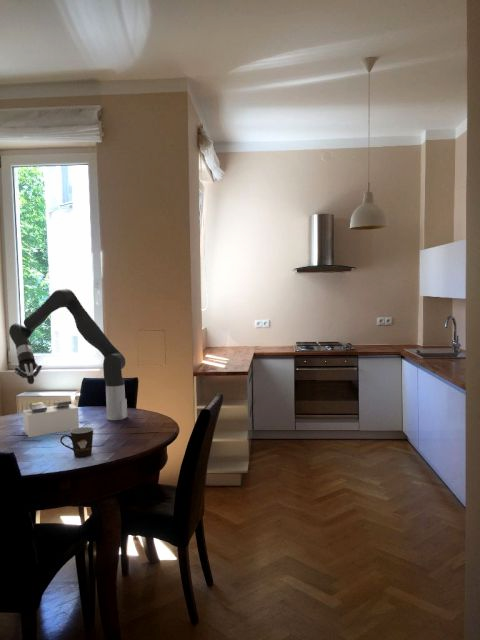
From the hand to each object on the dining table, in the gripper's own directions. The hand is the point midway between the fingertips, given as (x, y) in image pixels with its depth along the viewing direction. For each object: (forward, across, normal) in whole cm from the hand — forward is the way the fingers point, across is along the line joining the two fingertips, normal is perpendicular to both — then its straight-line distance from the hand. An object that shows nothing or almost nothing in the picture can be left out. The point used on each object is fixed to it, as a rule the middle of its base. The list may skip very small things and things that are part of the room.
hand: (31, 383), depth 229 cm
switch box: (+24, +5, +6) cm, 25 cm away
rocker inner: (+16, +11, -2) cm, 19 cm away
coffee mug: (+56, +6, -26) cm, 62 cm away
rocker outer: (+16, 0, -3) cm, 16 cm away
